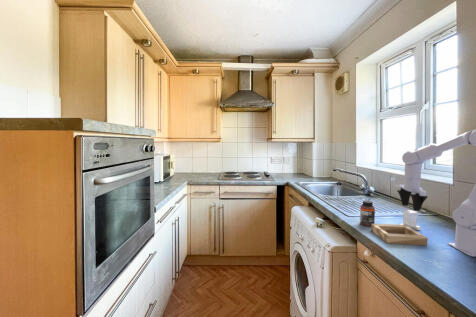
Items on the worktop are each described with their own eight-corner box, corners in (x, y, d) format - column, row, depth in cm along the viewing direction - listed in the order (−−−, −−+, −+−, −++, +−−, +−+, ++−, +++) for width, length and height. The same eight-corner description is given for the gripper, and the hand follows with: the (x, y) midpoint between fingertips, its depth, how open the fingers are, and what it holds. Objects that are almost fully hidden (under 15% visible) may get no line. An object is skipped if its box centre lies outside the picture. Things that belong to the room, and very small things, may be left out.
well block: (427, 245, 82) (427, 237, 82) (387, 243, 84) (388, 235, 83) (404, 231, 95) (405, 224, 95) (370, 230, 96) (371, 223, 96)
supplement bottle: (365, 221, 107) (366, 199, 106) (377, 225, 101) (378, 202, 101) (356, 223, 105) (357, 200, 104) (368, 227, 99) (369, 203, 99)
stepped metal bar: (420, 230, 96) (421, 212, 96) (403, 229, 97) (404, 212, 96) (415, 227, 100) (416, 210, 99) (398, 226, 100) (399, 209, 100)
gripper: (434, 181, 89) (432, 213, 90) (410, 175, 103) (409, 203, 104) (416, 180, 90) (414, 212, 91) (395, 175, 104) (393, 203, 105)
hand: (410, 207), depth 98 cm, fingers open, 7 cm apart
